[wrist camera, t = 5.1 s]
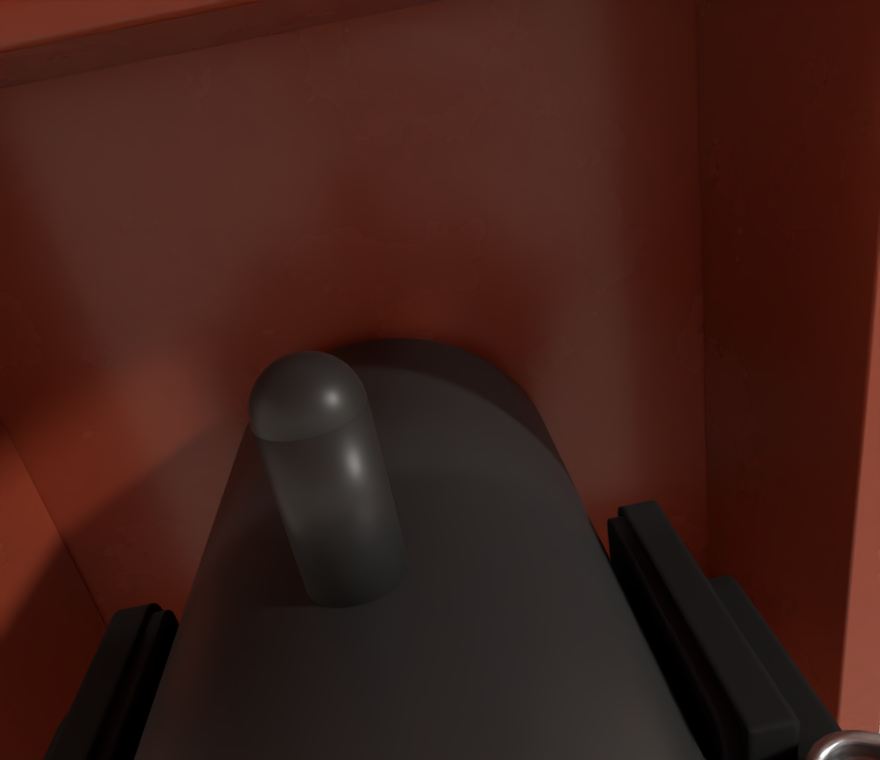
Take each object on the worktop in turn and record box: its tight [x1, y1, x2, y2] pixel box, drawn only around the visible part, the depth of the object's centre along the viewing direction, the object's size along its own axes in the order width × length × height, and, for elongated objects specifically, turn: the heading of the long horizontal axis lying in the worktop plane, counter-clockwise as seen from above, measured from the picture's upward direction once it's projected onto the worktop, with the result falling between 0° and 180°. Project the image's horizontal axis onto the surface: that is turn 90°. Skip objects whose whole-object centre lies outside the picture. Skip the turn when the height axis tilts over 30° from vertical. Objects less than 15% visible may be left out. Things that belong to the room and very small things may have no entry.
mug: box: [134, 338, 707, 760], centre depth 10 cm, size 9×7×9 cm
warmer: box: [0, 0, 880, 760], centre depth 12 cm, size 16×16×6 cm
